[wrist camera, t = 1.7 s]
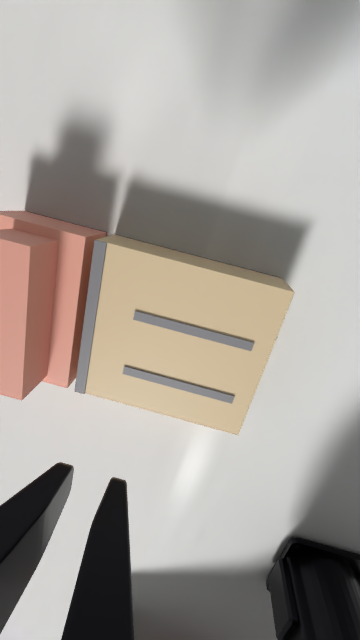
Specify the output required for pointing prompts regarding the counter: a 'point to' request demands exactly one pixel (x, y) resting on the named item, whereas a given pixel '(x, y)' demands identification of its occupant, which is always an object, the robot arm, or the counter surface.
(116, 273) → the beige slotted tile
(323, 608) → the robot arm
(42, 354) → the pink stepped block
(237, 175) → the counter surface
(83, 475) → the counter surface
